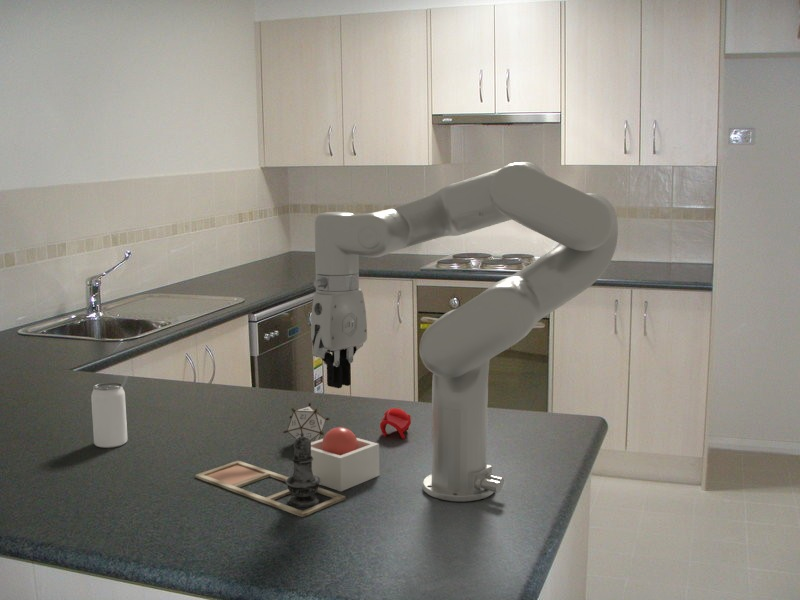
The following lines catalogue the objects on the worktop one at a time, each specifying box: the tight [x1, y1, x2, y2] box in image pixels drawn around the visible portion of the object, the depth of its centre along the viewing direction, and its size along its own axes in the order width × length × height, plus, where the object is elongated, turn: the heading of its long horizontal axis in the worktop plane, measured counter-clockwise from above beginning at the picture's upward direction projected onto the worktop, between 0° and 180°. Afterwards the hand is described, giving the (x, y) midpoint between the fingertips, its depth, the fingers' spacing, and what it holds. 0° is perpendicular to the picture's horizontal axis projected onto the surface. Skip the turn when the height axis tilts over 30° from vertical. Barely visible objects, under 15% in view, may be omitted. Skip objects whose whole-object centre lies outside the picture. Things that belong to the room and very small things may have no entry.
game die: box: [282, 402, 331, 442], centre depth 179 cm, size 9×8×10 cm
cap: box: [379, 407, 412, 440], centre depth 184 cm, size 8×6×6 cm
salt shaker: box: [285, 432, 321, 508], centre depth 149 cm, size 6×6×12 cm
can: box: [90, 382, 128, 449], centre depth 179 cm, size 6×6×12 cm
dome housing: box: [311, 437, 380, 492], centre depth 160 cm, size 10×10×6 cm
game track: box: [194, 460, 347, 518], centre depth 156 cm, size 28×10×1 cm, turn 50°
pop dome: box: [322, 426, 358, 456], centre depth 160 cm, size 6×6×6 cm
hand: (338, 385), depth 158 cm, fingers closed
